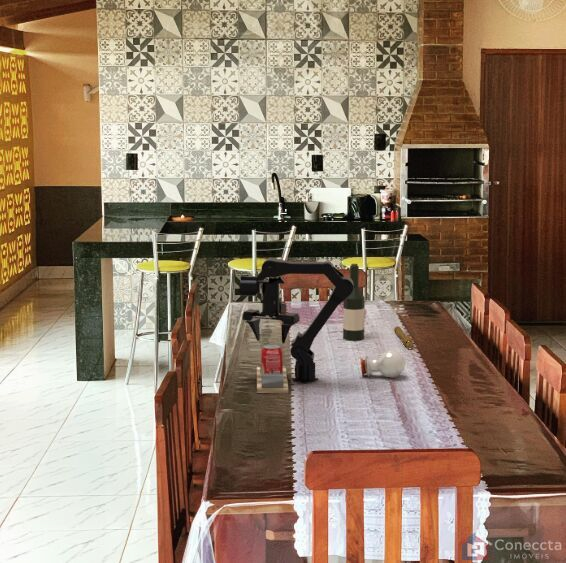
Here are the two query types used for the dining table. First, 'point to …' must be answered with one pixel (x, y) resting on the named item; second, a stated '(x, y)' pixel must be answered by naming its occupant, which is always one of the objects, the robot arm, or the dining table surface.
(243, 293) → the robot arm
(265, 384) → the cradle
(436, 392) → the dining table surface
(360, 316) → the wine bottle
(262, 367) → the soda can
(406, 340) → the tap handle
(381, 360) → the potion bottle
